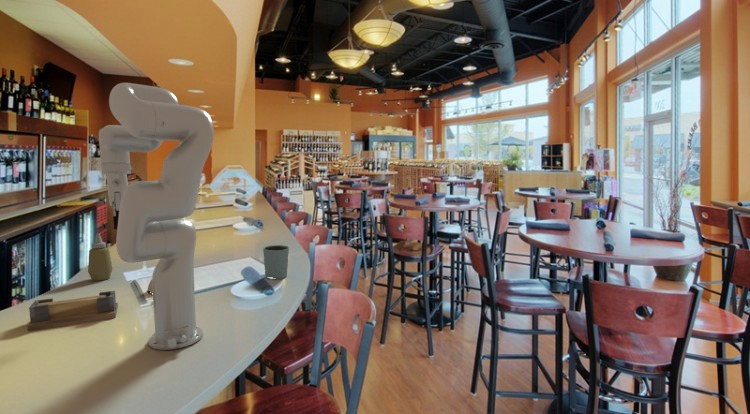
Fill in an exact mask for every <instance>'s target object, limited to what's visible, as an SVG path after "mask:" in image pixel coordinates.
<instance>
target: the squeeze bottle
mask: <svg viewBox="0 0 750 414" xmlns="http://www.w3.org/2000/svg"><path fill="white" fill-rule="evenodd" d="M106 245H107V242H106V241H105V242H104V241H103V239H102V237H101V233H96V234H95V239H94V242H93V243H91V249H90V248H89V250H88V265H87V272H88V274H89V277H90V279H91V280H92V281H94V282H96V281H97V282H99V281H105V280H108V279H110V278H111V276H112V275H111V274H112V272H113V269H114V268H113V264H112V260H111V252H110V248H108V247H107V246H106Z"/></svg>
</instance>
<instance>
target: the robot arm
mask: <svg viewBox="0 0 750 414" xmlns="http://www.w3.org/2000/svg"><path fill="white" fill-rule="evenodd" d="M108 99H109V100H108V104H109V109H110V112H111V114H112V115H113V117H114V118H115V119H116V121H118V122H119V124H108V125H105V126H104V127H103V128H100V129H99V130H98V143H99V157H100V159H99V160H100V168H101V169H100V170H101V171H100V172H101V175H106V184H107V185H106V186H107V196H108V200H109V201H108V202H109V206H110V207H112V209H113V215H112V219H113V229H114V230H116V240H115V242H116V243H115V244H116V245H115V246H116V252H117V255H118V257H119V258H120V259H121V260H122V261H123V262H126V263H128V264H129V263H131V264H133V263H134V264H135V263H141V262H142V263H144V262H147V261H154V260H158V261H157V263H156V265H155V267H154V270H153V271H152V277H151V278H152V279H151V280H152V286H153V295H152V298H153V299H152V300H153V301H152V302H153V303H152V304H153V318H154V319H153V320H154V333H153V334H152V335H151V336H150V337H149V338H148V346H149V347H150V348H152V349H153V350H160V351H168V350H169V351H170V350H177V349H182V348H185V347H188V346H191V345H193V344H195V343H197V342H198V341H200V340H201V339H202V338H203V335H204V331H203V329H202V328H201V327H198V326H197V321H196V297H195V296H196V295H195V267H194V265H195V264H194V262H195V249H196V244H197V230H196V227H195V226H194V224H193V222H192V221H189V220H187V219H186V218H188V217H190V216H191V215H192V214H193V213H194V212H195V209H196V205H197V201H198V197H199V196H198V195H199V191H200V185H201V179H202V175H203V174H202V173H203V171H204V170H203V169H204V166H205V164H206V162H207V159H208V157H209V154H210V152H211V150H212V147H213V143H214V139H215V138H214V137H215V136H214V135H215V131H214V123H213V120H212V118H211V116H210V114H209V113H208V112H207V111H205V109H202V108H200V107H196V106H191V105H187V104H179V101H178V99H177V96H176V95H175V94H174V93H172V92H171V91H170V90H168V89H165V88H163V87H159V86H154V85H152V86H151V85H147V84H146V85H145V84H141V83H139V84H138V83H131V82H120V83H117V84H116V85H115V86H113V87H112V89H111V91H110V93H109V98H108ZM164 141H165V142H166V141H169V142H173V141H174V142H175V141H176V142H180V143H179V144H178V145H176V146H175V147H174V148H173V149H172V150H171V151H170V152H169V154H168V155H167V156H165V158H164V159H163V162H162V168H161V174H160V177H159V179H156V180H140V181H137V180H136V181H133V182H131V183H129V180H128V175H132V173H131V171H132V168H131V159H130V158H131V155H130V152H131V153H150V152H154V151H155V150H157V149H158V148H159V147H161V145H163V143H164Z"/></svg>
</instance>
